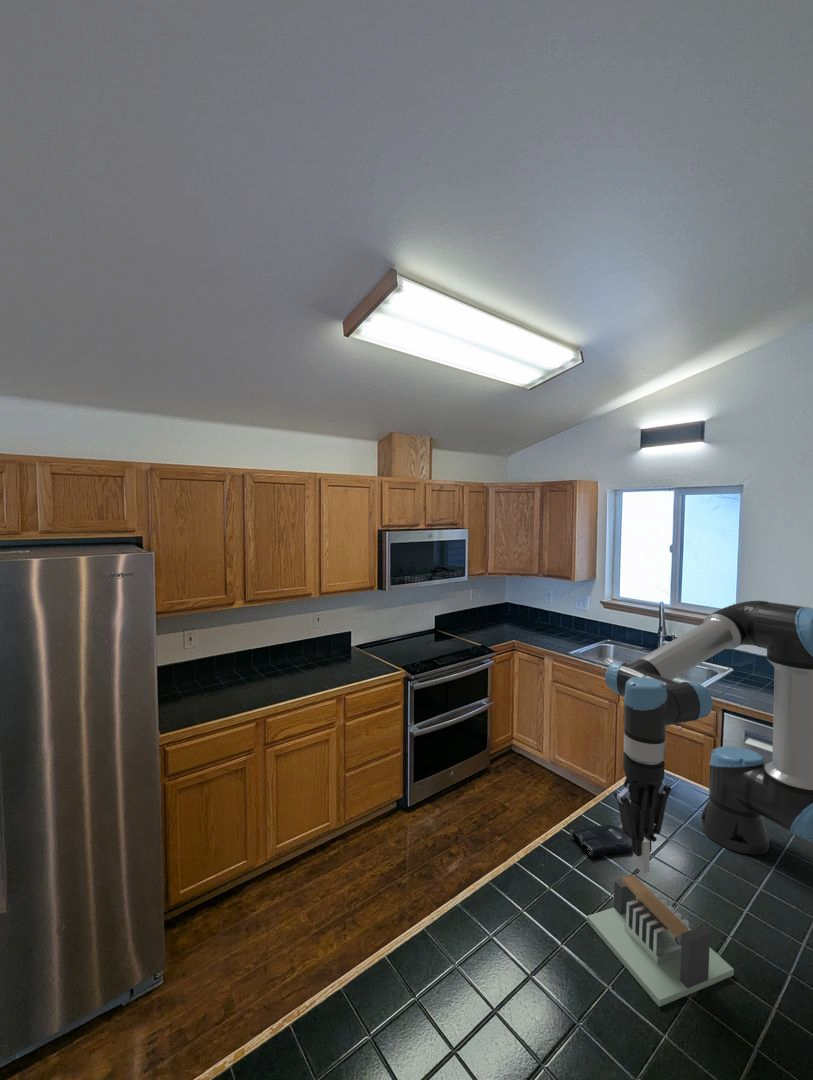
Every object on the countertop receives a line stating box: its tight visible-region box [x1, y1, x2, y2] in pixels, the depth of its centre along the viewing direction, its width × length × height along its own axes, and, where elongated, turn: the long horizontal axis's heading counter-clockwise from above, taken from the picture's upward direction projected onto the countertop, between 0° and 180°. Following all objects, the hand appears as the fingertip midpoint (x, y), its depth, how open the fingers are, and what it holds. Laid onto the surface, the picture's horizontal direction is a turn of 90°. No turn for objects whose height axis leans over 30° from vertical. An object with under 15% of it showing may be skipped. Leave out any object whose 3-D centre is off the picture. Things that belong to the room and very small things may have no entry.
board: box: [586, 878, 735, 1008], centre depth 91 cm, size 18×18×10 cm
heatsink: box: [624, 892, 690, 965], centre depth 91 cm, size 8×8×6 cm
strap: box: [621, 874, 690, 945], centre depth 91 cm, size 4×15×1 cm, turn 19°
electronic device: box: [569, 824, 632, 858], centre depth 120 cm, size 9×6×15 cm
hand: (641, 867), depth 95 cm, fingers closed
